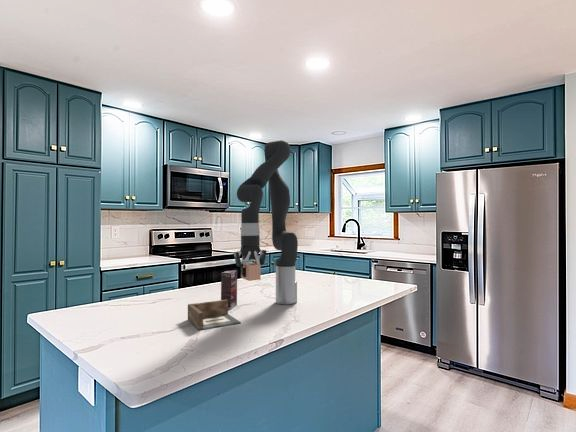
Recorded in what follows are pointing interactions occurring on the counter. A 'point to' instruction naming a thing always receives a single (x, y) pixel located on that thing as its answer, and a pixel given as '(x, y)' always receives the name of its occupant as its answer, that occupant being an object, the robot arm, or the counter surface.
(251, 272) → the terracotta block
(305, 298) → the counter surface
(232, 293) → the supplement box
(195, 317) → the arena
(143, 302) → the counter surface
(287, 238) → the robot arm
